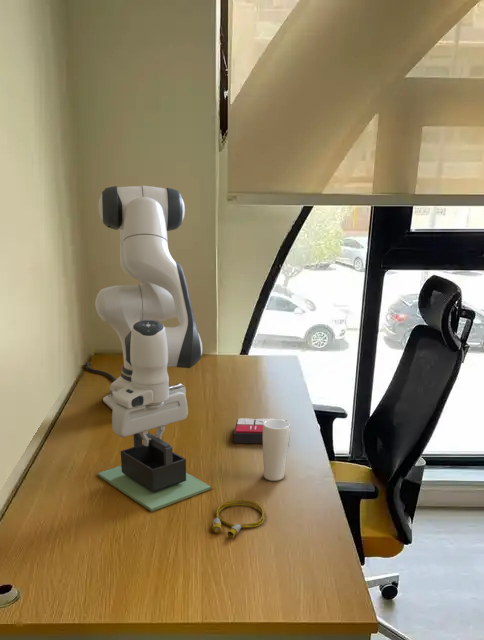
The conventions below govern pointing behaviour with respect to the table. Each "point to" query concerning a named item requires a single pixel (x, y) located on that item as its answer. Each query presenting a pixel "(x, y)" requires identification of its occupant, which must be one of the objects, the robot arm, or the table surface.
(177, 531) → the table surface
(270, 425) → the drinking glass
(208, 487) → the desk mat
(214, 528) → the extension cord
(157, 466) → the caddy bin
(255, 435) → the calculator
